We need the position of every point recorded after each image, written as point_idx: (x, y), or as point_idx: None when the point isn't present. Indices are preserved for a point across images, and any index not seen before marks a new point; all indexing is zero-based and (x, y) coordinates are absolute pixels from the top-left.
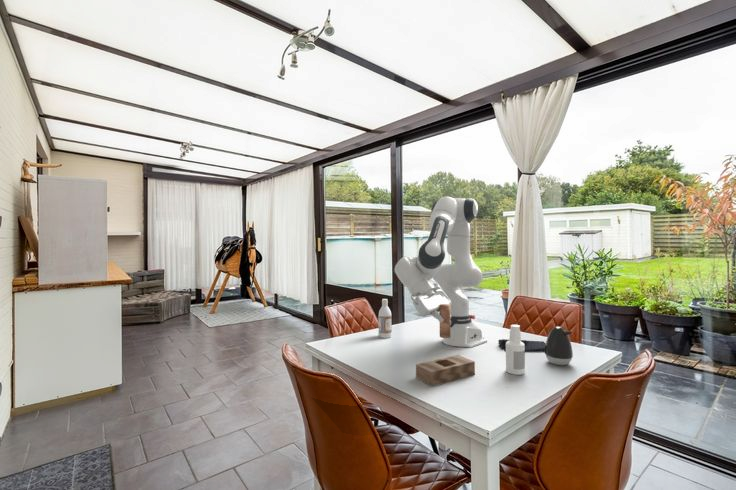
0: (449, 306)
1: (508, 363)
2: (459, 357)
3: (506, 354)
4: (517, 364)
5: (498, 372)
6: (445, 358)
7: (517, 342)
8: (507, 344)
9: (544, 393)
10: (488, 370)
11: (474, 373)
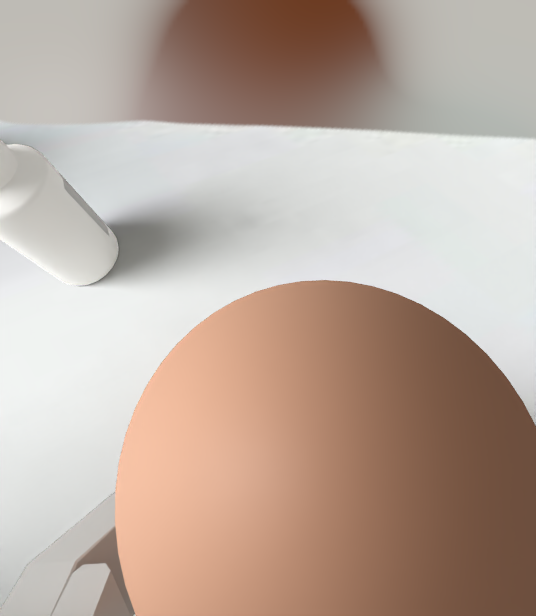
0: (320, 291)
1: (94, 247)
2: None
3: (62, 239)
4: (95, 213)
5: (127, 297)
6: None
7: (14, 153)
8: (32, 201)
9: (222, 134)
10: (126, 336)
11: None
